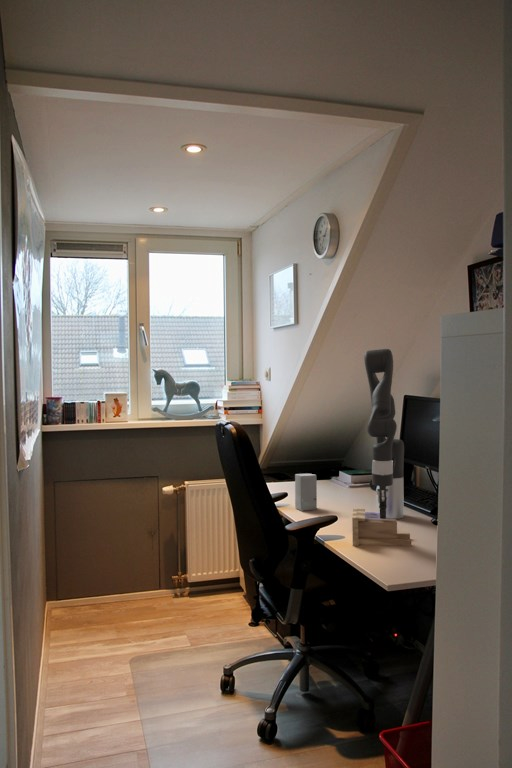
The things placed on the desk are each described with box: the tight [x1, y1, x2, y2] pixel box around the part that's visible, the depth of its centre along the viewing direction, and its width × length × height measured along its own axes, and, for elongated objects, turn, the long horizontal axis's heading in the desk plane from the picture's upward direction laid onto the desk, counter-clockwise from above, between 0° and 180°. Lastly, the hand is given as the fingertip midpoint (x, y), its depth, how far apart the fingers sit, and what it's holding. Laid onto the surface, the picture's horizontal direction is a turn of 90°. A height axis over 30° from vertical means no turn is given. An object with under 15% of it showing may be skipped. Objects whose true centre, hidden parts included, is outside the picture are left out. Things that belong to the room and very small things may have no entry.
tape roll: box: [365, 511, 380, 519], centre depth 254 cm, size 12×12×5 cm
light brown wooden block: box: [358, 518, 398, 539], centre depth 235 cm, size 5×14×8 cm, turn 80°
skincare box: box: [294, 473, 318, 512], centre depth 286 cm, size 8×7×16 cm
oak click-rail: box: [351, 508, 412, 547], centre depth 235 cm, size 14×21×10 cm, turn 80°
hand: (382, 518), depth 234 cm, fingers closed
